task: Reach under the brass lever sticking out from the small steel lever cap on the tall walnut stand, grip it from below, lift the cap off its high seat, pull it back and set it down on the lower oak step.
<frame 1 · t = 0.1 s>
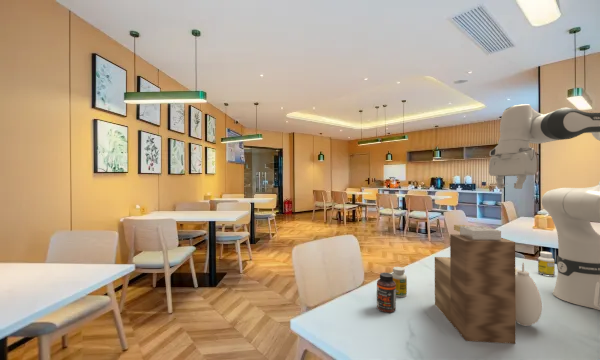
hand: (508, 188, 97), 39 cm above the table, tool pointing down, fingers open, 8 cm apart
supplement bottle: (398, 295, 100), on the table
stepped stand: (469, 321, 80), on the table
supplement bottle 2: (386, 309, 88), on the table
supplement bottle 3: (546, 275, 120), on the table
sauce bottle: (523, 325, 79), on the table
lever cap: (479, 237, 75), point 26 cm above the table, touching stepped stand
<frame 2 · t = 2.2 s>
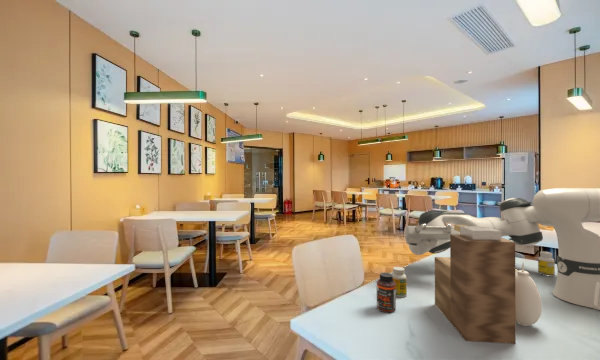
hand: (436, 226, 105), 24 cm above the table, tool pointing upward, fingers open, 8 cm apart
nothing on the table moved.
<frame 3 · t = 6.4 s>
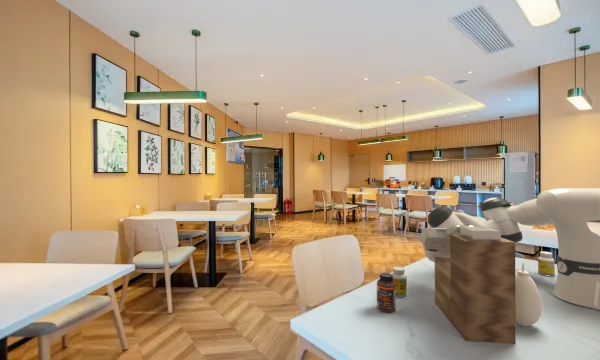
hand: (464, 227, 83), 27 cm above the table, tool pointing upward, fingers closed on lever cap, 3 cm apart
lever cap: (479, 237, 75), point 26 cm above the table, touching gripper, stepped stand
everything else where it was.
when the fingers open (19 cm above the table, at t = 13.5 s): lever cap drops 2 cm, resting on stepped stand.
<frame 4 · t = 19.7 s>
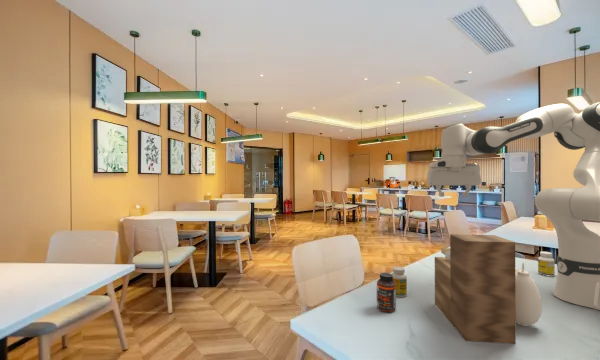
hand: (453, 196, 113), 35 cm above the table, tool pointing down, fingers open, 8 cm apart
lever cap: (461, 262, 85), point 16 cm above the table, touching stepped stand
everything else where it was.
at the end: lever cap inside the target area (0.6 cm from its centre), point 16.0 cm above the table; the gripper is holding nothing; lever cap tilted 0° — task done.
